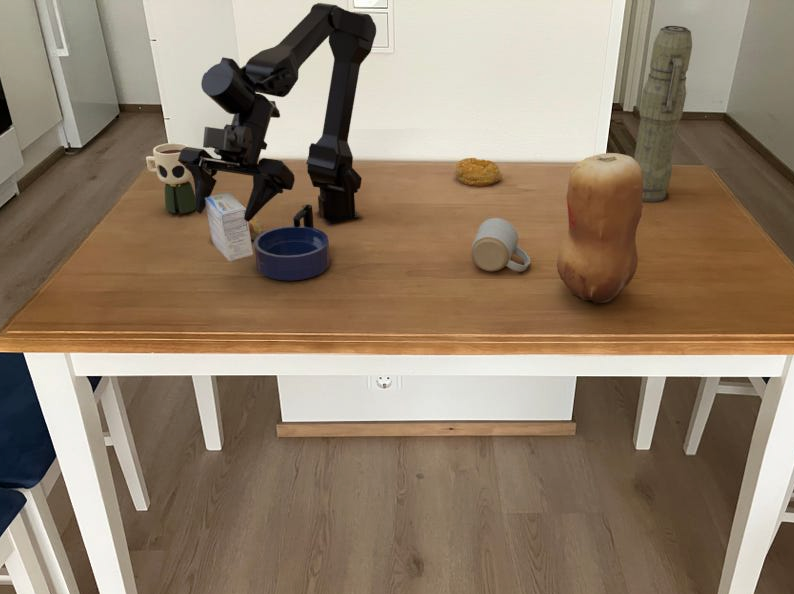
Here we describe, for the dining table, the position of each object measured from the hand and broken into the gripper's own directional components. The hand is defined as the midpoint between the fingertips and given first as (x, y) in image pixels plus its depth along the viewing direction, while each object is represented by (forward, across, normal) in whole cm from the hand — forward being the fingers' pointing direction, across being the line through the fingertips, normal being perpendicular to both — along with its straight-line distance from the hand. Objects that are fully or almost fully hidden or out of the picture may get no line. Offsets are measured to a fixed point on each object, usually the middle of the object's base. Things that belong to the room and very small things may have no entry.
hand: (222, 216), depth 126 cm
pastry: (-3, -10, +22) cm, 25 cm away
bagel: (-36, +25, +56) cm, 71 cm away
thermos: (-40, +62, +60) cm, 96 cm away
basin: (+2, +6, +17) cm, 18 cm away
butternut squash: (-4, +59, +23) cm, 64 cm away
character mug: (-8, -27, +28) cm, 40 cm away
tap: (-3, +5, +22) cm, 22 cm away
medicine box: (+4, 0, +6) cm, 7 cm away
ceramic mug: (-8, +41, +28) cm, 50 cm away
